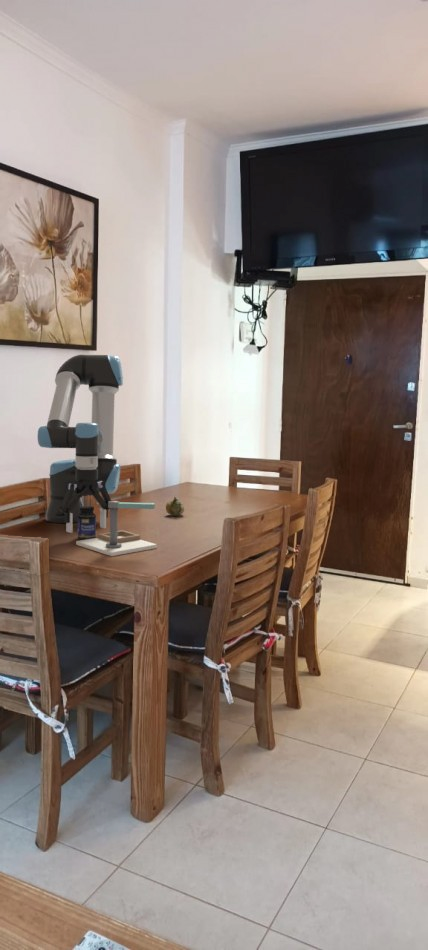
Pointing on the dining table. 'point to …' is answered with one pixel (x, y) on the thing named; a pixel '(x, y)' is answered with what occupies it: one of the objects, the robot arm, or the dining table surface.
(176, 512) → the onion
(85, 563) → the dining table surface
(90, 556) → the dining table surface
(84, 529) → the pill bottle
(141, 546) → the base board
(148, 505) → the keeper arm
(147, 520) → the dining table surface
